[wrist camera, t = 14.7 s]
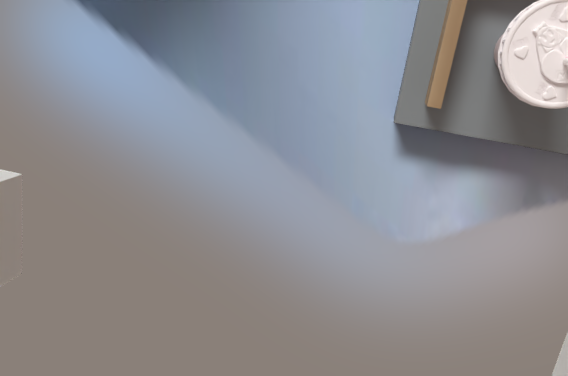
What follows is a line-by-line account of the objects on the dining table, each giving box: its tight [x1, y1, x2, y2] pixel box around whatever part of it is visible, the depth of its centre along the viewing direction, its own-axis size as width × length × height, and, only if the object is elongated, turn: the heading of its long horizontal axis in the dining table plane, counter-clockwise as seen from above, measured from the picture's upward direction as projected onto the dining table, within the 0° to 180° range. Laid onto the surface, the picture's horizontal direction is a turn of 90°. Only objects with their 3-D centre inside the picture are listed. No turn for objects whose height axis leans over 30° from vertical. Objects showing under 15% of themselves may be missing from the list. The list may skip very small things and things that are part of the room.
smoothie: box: [494, 0, 568, 109], centre depth 32 cm, size 6×6×14 cm
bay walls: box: [425, 0, 467, 109], centre depth 37 cm, size 12×11×3 cm
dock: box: [394, 0, 568, 155], centre depth 40 cm, size 16×13×3 cm
